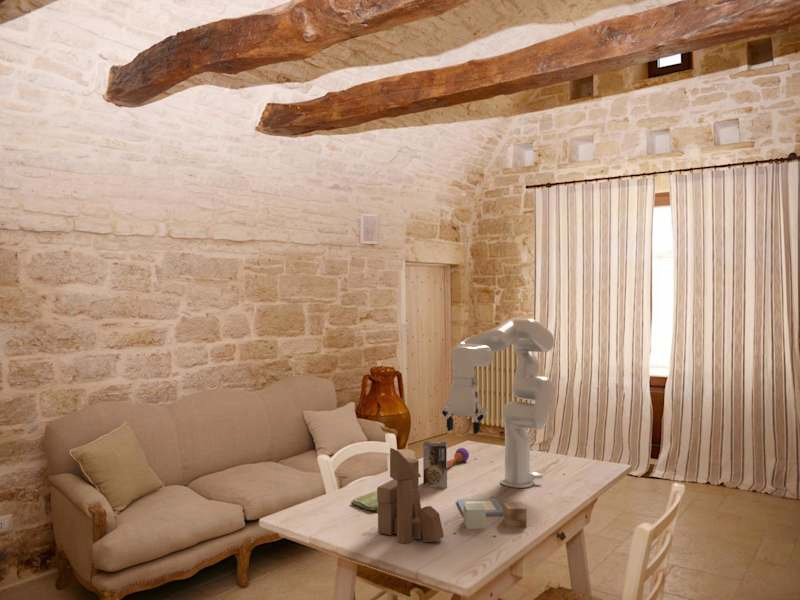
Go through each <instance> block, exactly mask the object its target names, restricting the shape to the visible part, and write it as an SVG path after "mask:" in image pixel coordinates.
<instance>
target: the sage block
mask: <svg viewBox="0 0 800 600" xmlns="http://www.w3.org/2000/svg"><path fill="white" fill-rule="evenodd" d="M486 517H487V516H486V509H485V507H484V506H483V504H482V503H471V504H464V516H463V524H464V526H465V528H466V530H470V529H471V530H473V529H474V530H477V529H480V530H481V529H487V518H486Z"/></svg>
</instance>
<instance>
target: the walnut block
mask: <svg viewBox="0 0 800 600" xmlns="http://www.w3.org/2000/svg"><path fill="white" fill-rule="evenodd" d="M502 505H503V506H502V508H503V515H502V521H503V523H504V524H505V526H506V527H507V528H509V529H511V528H512V527H517V528H527V507H526V506H525V505H524V504H523V502H520V501H519V502H517V501H516V502H502ZM512 529H513V528H512Z"/></svg>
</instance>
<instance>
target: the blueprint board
mask: <svg viewBox="0 0 800 600" xmlns="http://www.w3.org/2000/svg"><path fill="white" fill-rule="evenodd" d="M456 503H457V505H458V508H459V509H460V511H461V514H462V515H463V517H464V504H471V503H482V504H483V506H484V507H485V509H486V517H487V516H503V506H502V505H501V504H500V502H499V501H498V499H497V498H496V497H495V498H493V497H492V498H460V499H459V498H458V499H456Z"/></svg>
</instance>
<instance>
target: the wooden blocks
mask: <svg viewBox="0 0 800 600" xmlns="http://www.w3.org/2000/svg"><path fill="white" fill-rule="evenodd" d="M419 462H420V461H419V459H415V458H409V457H404V455H402V453H401V452H400V451H399V450H397V449H394V448H392V447H390V449H389V470H390V471H389V477H390V478H392V479H391V480H389V481H387V482H385V483H383V484H381V485H379V486H377V487H376V491H377V502H378V514H377V532H378V533H379V534H383V535H388V536H392V535H393V534H394V535H396V540H397V542H399V543H400V544H401V543H402V544H408V543H411V542H412V541H413V539H418V540H422V539H423V542H424V543H437V542H438V541H440V540H441V539H443V538H444V537H445V534H444V529H443V525H442V520H441V516H440V513H439V512H438V511H437V510H436V509H435V508H434V507H433V506H431V505H427V506H424V507H422V505H421V487H419V485H420V484H419V478H421V476H422V475H421V474H420V472H419V467H420V466H419Z"/></svg>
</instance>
